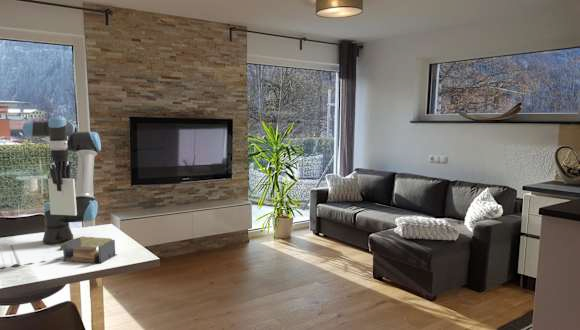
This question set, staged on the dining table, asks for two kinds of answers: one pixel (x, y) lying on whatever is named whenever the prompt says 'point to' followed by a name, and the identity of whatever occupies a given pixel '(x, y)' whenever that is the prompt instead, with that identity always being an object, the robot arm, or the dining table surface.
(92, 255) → the offcut middle
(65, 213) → the sheet
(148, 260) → the dining table surface
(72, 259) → the offcut bottom
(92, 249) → the offcut top
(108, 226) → the dining table surface
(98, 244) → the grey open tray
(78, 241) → the rack
